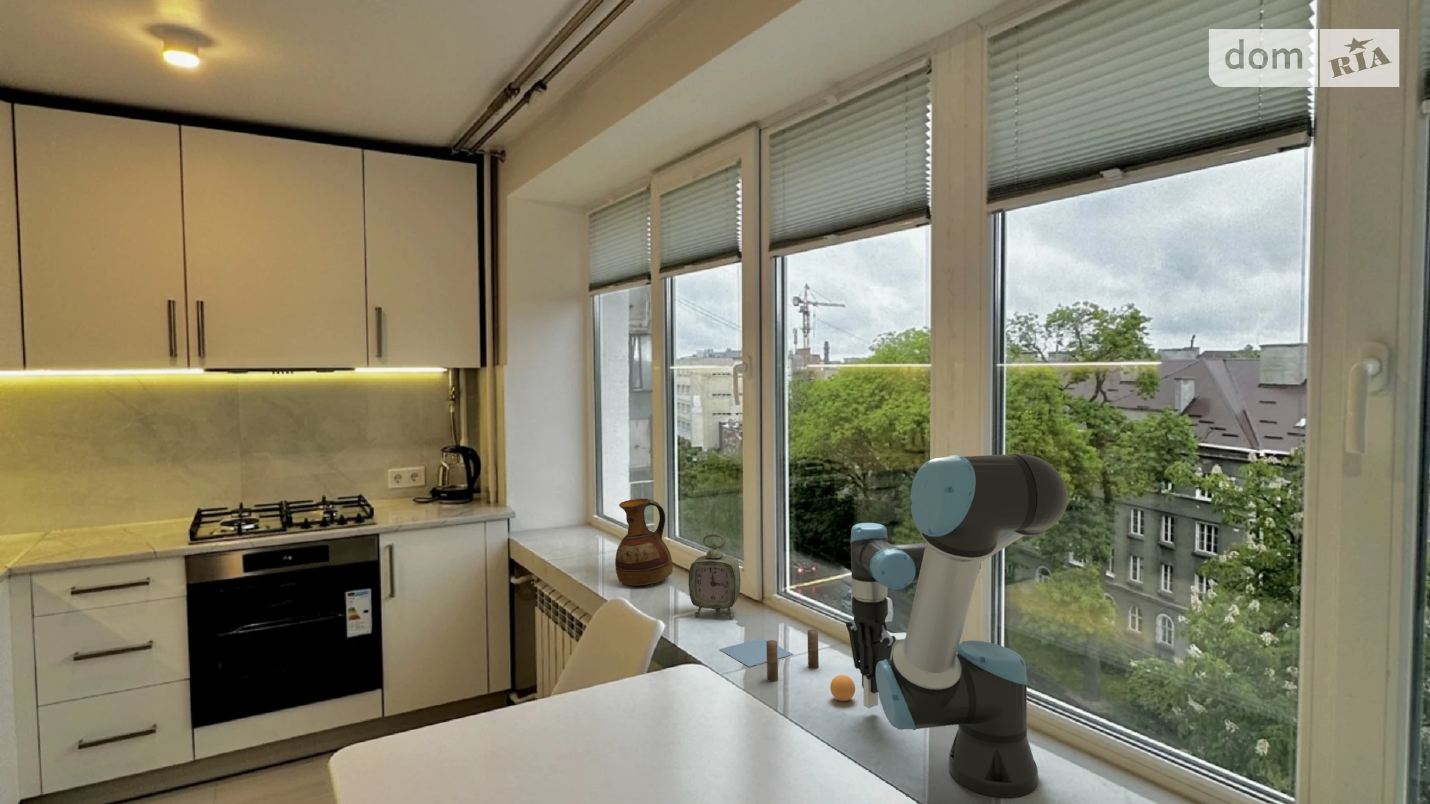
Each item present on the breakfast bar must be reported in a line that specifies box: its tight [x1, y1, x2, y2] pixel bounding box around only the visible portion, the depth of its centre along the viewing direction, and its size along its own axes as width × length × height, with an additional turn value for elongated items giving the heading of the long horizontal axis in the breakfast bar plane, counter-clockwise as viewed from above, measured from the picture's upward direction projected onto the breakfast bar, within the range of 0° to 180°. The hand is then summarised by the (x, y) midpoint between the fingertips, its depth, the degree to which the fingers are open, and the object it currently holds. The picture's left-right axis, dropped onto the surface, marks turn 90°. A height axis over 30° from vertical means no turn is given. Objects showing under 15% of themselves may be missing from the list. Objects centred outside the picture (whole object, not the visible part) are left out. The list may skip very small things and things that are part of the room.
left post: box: [766, 639, 779, 682], centre depth 176 cm, size 3×3×9 cm
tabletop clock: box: [688, 533, 742, 620], centre depth 223 cm, size 14×9×25 cm, turn 76°
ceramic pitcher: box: [614, 497, 673, 586], centre depth 260 cm, size 20×20×30 cm
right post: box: [807, 628, 820, 670], centre depth 183 cm, size 3×3×9 cm
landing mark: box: [718, 637, 794, 668], centre depth 193 cm, size 14×14×1 cm
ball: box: [829, 674, 856, 702], centre depth 164 cm, size 6×6×6 cm
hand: (870, 705), depth 157 cm, fingers closed
